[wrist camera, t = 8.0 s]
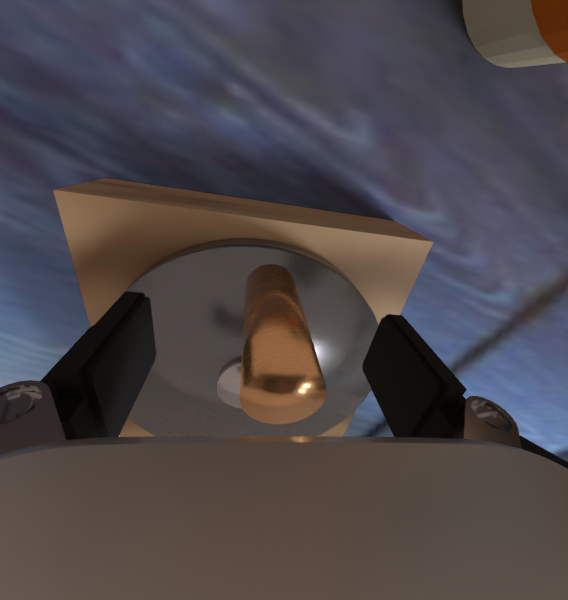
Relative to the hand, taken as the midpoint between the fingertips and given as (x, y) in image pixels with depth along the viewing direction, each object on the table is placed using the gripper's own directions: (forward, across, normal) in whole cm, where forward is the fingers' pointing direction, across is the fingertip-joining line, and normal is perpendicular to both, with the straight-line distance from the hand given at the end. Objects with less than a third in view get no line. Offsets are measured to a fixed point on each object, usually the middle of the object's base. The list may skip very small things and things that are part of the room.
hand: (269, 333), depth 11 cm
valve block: (+11, 0, +7) cm, 13 cm away
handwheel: (+5, 0, +7) cm, 9 cm away
